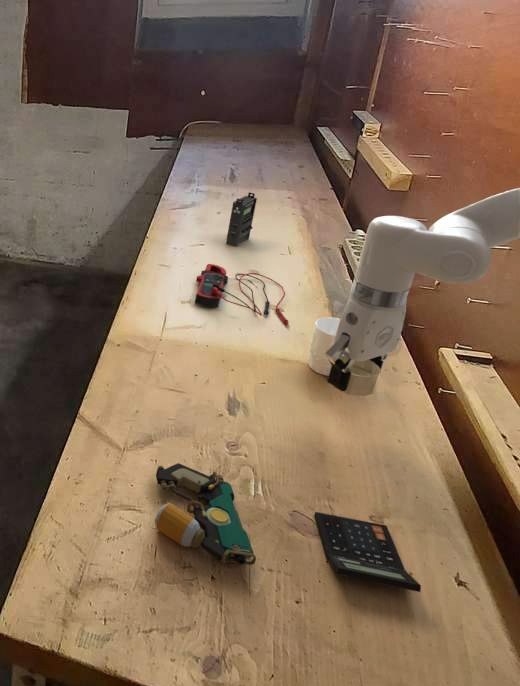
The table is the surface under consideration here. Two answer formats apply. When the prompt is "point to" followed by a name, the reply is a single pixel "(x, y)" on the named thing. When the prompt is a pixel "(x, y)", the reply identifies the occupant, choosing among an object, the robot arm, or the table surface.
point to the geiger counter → (241, 219)
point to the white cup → (322, 344)
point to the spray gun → (204, 515)
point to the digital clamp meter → (213, 288)
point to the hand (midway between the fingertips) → (352, 380)
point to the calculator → (362, 551)
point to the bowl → (362, 378)
